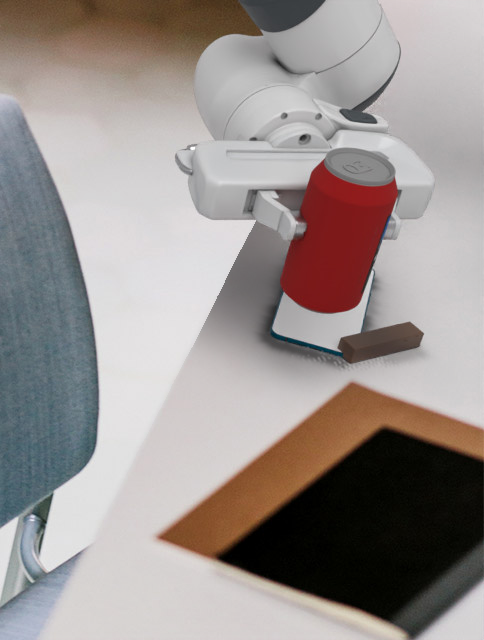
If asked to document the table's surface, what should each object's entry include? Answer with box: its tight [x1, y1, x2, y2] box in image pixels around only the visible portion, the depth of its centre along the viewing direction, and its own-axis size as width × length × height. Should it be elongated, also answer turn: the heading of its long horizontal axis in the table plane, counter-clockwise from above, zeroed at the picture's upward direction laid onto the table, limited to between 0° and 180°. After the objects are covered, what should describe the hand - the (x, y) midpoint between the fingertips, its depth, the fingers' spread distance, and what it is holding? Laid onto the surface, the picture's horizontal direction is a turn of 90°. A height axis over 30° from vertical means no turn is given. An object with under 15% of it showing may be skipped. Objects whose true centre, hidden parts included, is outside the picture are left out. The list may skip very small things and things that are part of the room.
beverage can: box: [279, 148, 398, 314], centre depth 93 cm, size 7×7×12 cm
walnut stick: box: [337, 321, 425, 364], centre depth 105 cm, size 8×2×2 cm, turn 117°
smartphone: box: [269, 268, 376, 359], centre depth 110 cm, size 8×1×16 cm
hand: (345, 232), depth 92 cm, fingers closed on beverage can, 6 cm apart
